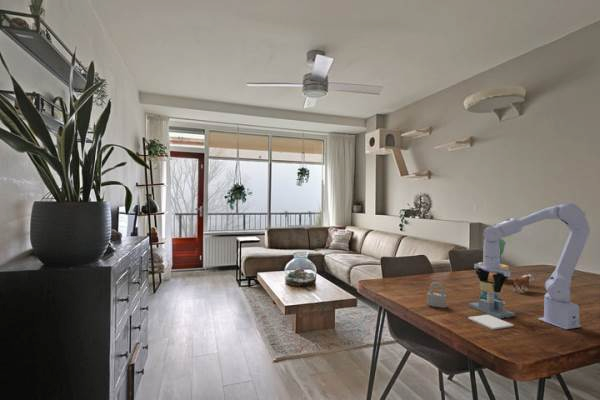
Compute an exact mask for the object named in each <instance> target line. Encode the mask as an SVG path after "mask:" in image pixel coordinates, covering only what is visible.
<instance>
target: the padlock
mask: <svg viewBox="0 0 600 400" xmlns="http://www.w3.org/2000/svg"><path fill="white" fill-rule="evenodd" d="M434 286H439V287H440V293H439V292H438V293H437V292H433V291H434ZM426 302H427V304H426V305H427V306H430V307H435V308H440V309H441V308H442V309H446V308H447V295H446V294H445V287H444V285H443V284H442V283H441V282H437V281H434V282H432V283H430V286H429V292H427V301H426Z"/></svg>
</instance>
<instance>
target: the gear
mask: <svg viewBox="0 0 600 400" xmlns="http://www.w3.org/2000/svg"><path fill="white" fill-rule="evenodd" d="M478 285H479V286H480V282H479V283H478ZM478 297H479V298H480V299H483V298H484V297H486V298H487V292H485V291H482V294H481V295H479V296H478ZM494 299H496V300H499V301H500V298H499V295H498V293H494Z"/></svg>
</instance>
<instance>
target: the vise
mask: <svg viewBox="0 0 600 400" xmlns="http://www.w3.org/2000/svg"><path fill="white" fill-rule="evenodd" d="M504 305H506V301H502V300H500V299H499V300H496V299H494V293H493V294H492V293H489V292H487V297H486V299H484V298H480V299H478V301H477V302H468V307H470V308H473V309H475V310H477V311H480V312H482V313H485V314H486V315H491V316H493V317H496V318H498V319H505V318H504V317H506V318H512V317H511V316H513V317H515V316H516V313H515V312H512V311H510V310H507V309H505V308H504Z"/></svg>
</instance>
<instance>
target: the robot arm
mask: <svg viewBox="0 0 600 400" xmlns="http://www.w3.org/2000/svg"><path fill="white" fill-rule="evenodd" d="M547 219H548V220H558V219H559V220H560V221H561V222H563V223H564V224H565V226H566V227H567V228H568V229H569V234H568V237H567V238H566V242H565V244H564V246H563V249H562V251H561V255H560V256H559V259H558V261H557V264H556V267H555V269H554V270H553V272H552V273H551V275H550V277H549V278H548V279H546V280H545V282H544V288H545V290H546V291H547V292H546V293H545V294H543V296H544V297H543V298H544V300H543V301H544V302H543V308H544V309H543V317H538V318H537V320H538V321H542V322H544V323H547V324H549V325H553V326H556V327H558V328H561V329H564V330H570V329H571V330H572V329H576V328H582V327H581V324H580V306H579V304H577V303H575V302H572V301H571V299H570V298H571V295H572V292H571V289H570V288H571V285H572V276H573V274H574V271H575V269H576V266H577V264H578V261H580V257H581V255H582V252H583V250H584V247H585V245H586V242H587V240H588V238H589V236H590V234H591V228H590V225H589V223H588V220H587V217H586V212H584V210H583V209H582V208H580V206H579V205H577V204H574V203H560V204H558V205H554V206H551V207H550V206H549V207H546V208H543V209H540V210H539V211H535V212H533V213H532V214H528V215H526V216H523V217H521V218H519V219H517V218H514V217H512V218H510V217H508V218H505V220H504V221H502V222H499V223H497V224H496V223H493V224H492V226H487V227H486V228H485V229H484V230H483V234H482V235H483V238H484V239H483V245H482V246H483V247H482V248H483V249H482V250H483V253H482V254H483V255H482V262H483V265H482V264H478V263H474V264H473V265H474V266H473V268H474V269H476V270H475V274H476V275H477V277H478V279H479V282H480V281H488V280H489V279H488V276H489V273H490V272H492V273H496V274H494V275H493V278H494V280H493V281H494V282H495V292H496V293H495V294H500V293H499V292H501V289H502V290H503V288H502V286H503V285H504V283H505V282H506V280H507V279H508V278H509V277H511V271H510V270H504V269H502V268H500V264H501V258H500V245H499V239H500V238H506V237H509V236H512V235H514V234H517V233H520V232H522V230H523V228H524V227H526V226H529V225H532V224H535V223H538V222H541V221H544V220H547Z"/></svg>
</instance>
